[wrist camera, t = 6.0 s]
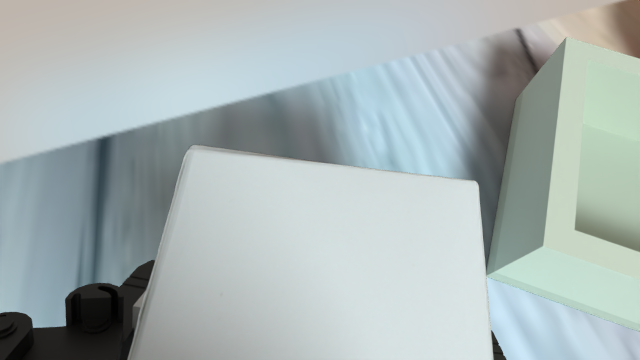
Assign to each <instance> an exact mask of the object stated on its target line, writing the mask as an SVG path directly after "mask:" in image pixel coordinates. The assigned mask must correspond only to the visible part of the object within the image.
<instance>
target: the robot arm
mask: <svg viewBox="0 0 640 360" xmlns="http://www.w3.org/2000/svg"><path fill="white" fill-rule="evenodd" d="M154 263H155V261H154V260H151V261H149V262H147V263H145V264H143V265H141V266H139V267H138V268H137V269H136V270H135V271H134V272H133V273H132V274H131V275H130V277H129V278H127V279H126V280H125V281H124V282H123V285H121V286H120V287H118V286H115V285H112V284H108V283H95V284H88V285H85V286H82V287H79V288H77V289H76V290H74V291H73V292H71V293H70V294H69V295H68V296H67V298H66V299H65V306H66V326H62V327H49V328H33V324H32V319H31V318H30V317H29V316H28V315H26V314H23V313H19V312H4V313H0V360H127V359H128V356H129V352H130V349H131V346H132V342H133V338H134V335H135V331H136V326H137V320H138V315H139V312H140V308H141V305H142V302H143V298H144V295H145V293H146V289H147V286H148V283H149V280H150V277H151V274H152V270H153V267H154ZM491 336H492V348H493V359H494V360H506V358H505V356H503V352H502V349H501V347H500V346H499V345H498V344H499V343H498V341H497V339H496V337H495V335H494V333H493V331H492V330H491Z"/></svg>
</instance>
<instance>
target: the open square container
mask: <svg viewBox="0 0 640 360" xmlns="http://www.w3.org/2000/svg"><path fill="white" fill-rule="evenodd" d="M486 277H488V278H491V279H494V280H497V281H500V282H502V283H505V284H508V285H511V286H513V287H516V288H519V289H522V290H525V291H527V292H530V293H533V294H536V295H539V296H541V297H544V298H547V299H550V300H552V301H555V302H558V303H561V304H564V305H566V306H569V307H572V308H575V309H577V310H580V311H583V312H586V313H589V314H591V315H594V316H597V317H600V318H603V319H605V320H608V321H611V322H614V323H616V324H619V325H622V326H625V327H628V328H630V329H633V330H636V331H639V332H640V59H639V58H636V57H632V56H629V55H626V54H622V53H619V52H616V51H612V50H609V49H606V48H602V47H599V46H596V45H592V44H589V43H586V42H582V41H579V40H576V39H572V38H569V37H566V38H565V39H564V41H563V42H562V43H561V44H560V45H559V47H558V48H557V49H556V50H555V52H554V53H553V54H552V55H551V57H550V58H549V59H548V60H547V62H546V63H545V64H544V65H543V66H542V68H541V69H540V70H539V71H538V73H537V74H536V75H535V76H534V78H533V79H532V80H531V81H530V83H529V84H528V85H527V86H526V88H525V89H524V90H523V91H522V92H521V94H520V95H519V96H518V97H517V99H516V102H515V108H514V113H513V119H512V125H511V131H510V137H509V142H508V148H507V154H506V160H505V166H504V171H503V177H502V183H501V189H500V195H499V201H498V206H497V212H496V218H495V224H494V230H493V235H492V241H491V247H490V253H489V259H488V264H487V270H486Z"/></svg>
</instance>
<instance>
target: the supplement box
mask: <svg viewBox="0 0 640 360" xmlns="http://www.w3.org/2000/svg"><path fill="white" fill-rule="evenodd" d="M127 360H494V359H493V348H492V336H491V324H490V313H489V301H488V289H487V278H486V266H485V255H484V243H483V232H482V220H481V209H480V198H479V185H478V183H477V182H476V181H474V180H463V179H456V178H448V177H439V176H431V175H423V174H414V173H405V172H397V171H388V170H380V169H372V168H363V167H355V166H346V165H337V164H329V163H322V162H316V161H309V160H302V159H295V158H288V157H281V156H274V155H267V154H260V153H254V152H246V151H239V150H231V149H224V148H217V147H211V146H205V145H192V146H190V147H189V149H188V150H187V152H186V153H185V156H184V159H183V162H182V166H181V170H180V173H179V176H178V180H177V183H176V187H175V191H174V195H173V199H172V203H171V206H170V210H169V213H168V217H167V220H166V224H165V227H164V231H163V234H162V238H161V242H160V245H159V249H158V253H157V256H156V260H155V263H154V267H153V270H152V274H151V277H150V280H149V283H148V286H147V289H146V293H145V295H144V298H143V302H142V305H141V308H140V312H139V315H138V320H137V326H136V331H135V335H134V338H133V342H132V346H131V349H130V352H129V356H128V359H127Z"/></svg>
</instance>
